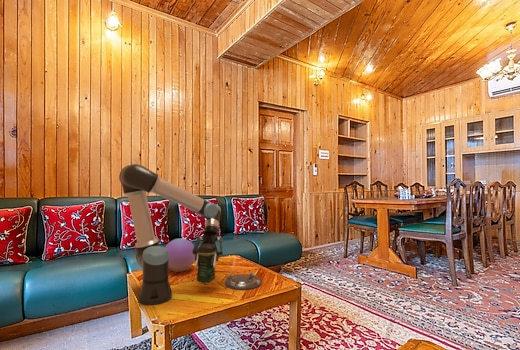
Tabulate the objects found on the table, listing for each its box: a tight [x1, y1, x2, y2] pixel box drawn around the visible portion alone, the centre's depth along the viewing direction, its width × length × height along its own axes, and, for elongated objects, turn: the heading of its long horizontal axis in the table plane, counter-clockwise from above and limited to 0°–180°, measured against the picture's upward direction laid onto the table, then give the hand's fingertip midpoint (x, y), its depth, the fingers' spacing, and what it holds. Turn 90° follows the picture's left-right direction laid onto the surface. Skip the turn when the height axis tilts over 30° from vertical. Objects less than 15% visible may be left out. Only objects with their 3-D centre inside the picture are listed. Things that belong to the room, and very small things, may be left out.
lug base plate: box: [224, 272, 262, 291], centre depth 157 cm, size 20×20×3 cm
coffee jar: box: [196, 243, 217, 284], centre depth 147 cm, size 10×8×19 cm
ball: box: [164, 237, 196, 273], centre depth 177 cm, size 20×20×20 cm
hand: (205, 266), depth 144 cm, fingers closed on coffee jar, 8 cm apart
